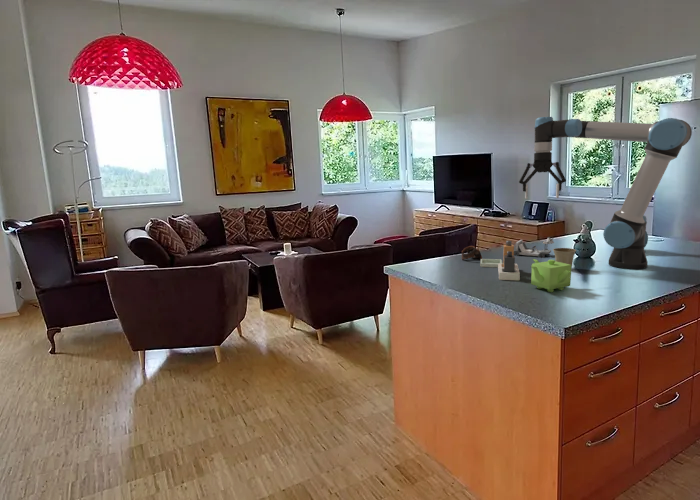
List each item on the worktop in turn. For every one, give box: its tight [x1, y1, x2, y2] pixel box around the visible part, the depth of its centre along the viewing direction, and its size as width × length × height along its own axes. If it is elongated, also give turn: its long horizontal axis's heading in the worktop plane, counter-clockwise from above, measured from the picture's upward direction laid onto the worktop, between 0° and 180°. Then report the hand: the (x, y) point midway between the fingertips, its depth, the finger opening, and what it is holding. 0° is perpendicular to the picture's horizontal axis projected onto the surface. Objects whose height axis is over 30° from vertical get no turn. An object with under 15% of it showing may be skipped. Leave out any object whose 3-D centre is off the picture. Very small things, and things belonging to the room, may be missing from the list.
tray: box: [479, 258, 503, 268], centre depth 222 cm, size 10×11×2 cm
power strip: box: [497, 251, 521, 281], centre depth 203 cm, size 8×18×11 cm, turn 164°
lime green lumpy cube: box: [530, 258, 572, 293], centre depth 180 cm, size 15×14×11 cm
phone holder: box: [514, 236, 555, 259], centre depth 242 cm, size 18×10×12 cm
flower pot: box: [552, 247, 577, 269], centre depth 211 cm, size 9×9×9 cm
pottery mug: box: [461, 245, 483, 261], centre depth 235 cm, size 12×10×8 cm
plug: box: [502, 240, 515, 267], centre depth 207 cm, size 4×5×14 cm
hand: (541, 198), depth 222 cm, fingers open, 13 cm apart
